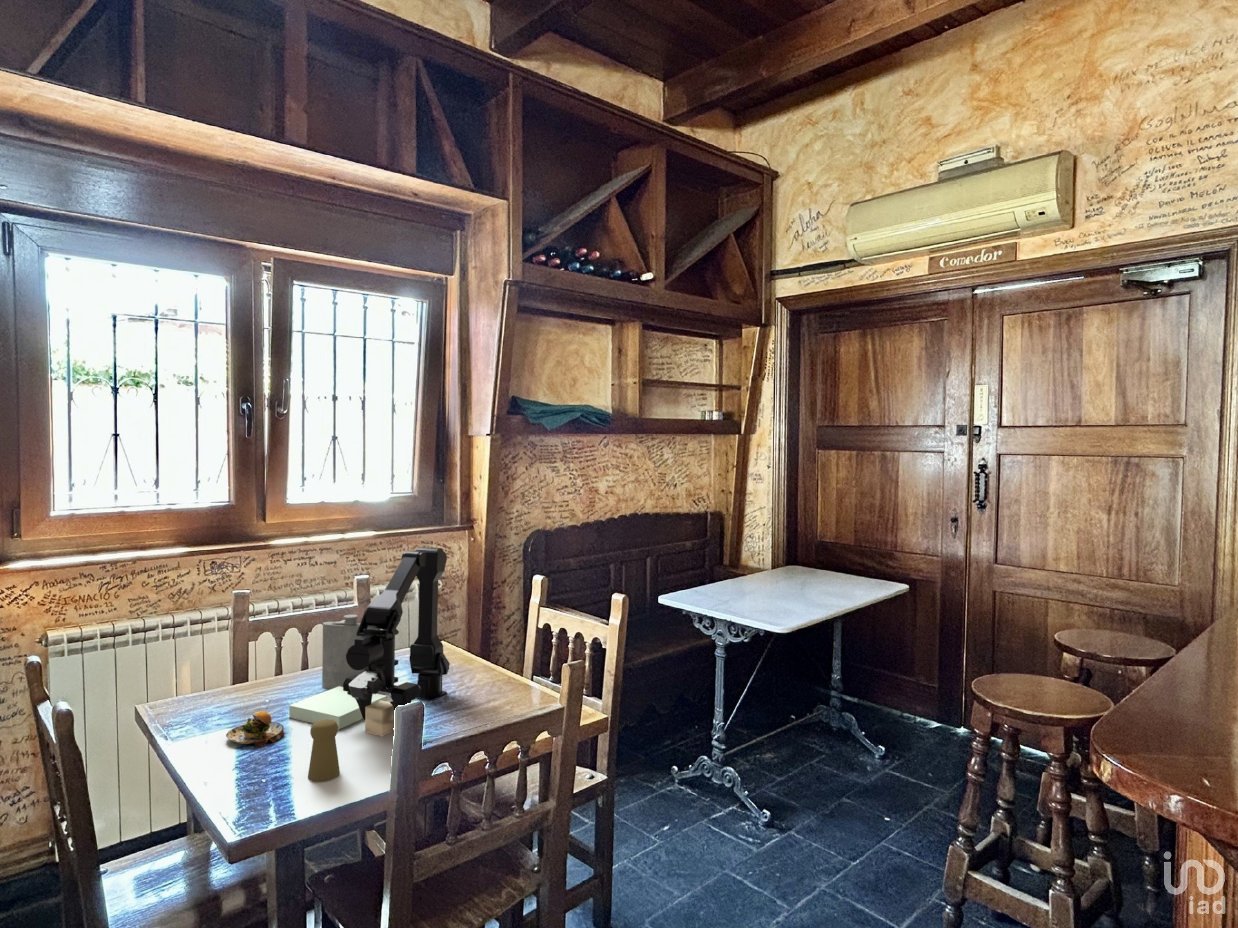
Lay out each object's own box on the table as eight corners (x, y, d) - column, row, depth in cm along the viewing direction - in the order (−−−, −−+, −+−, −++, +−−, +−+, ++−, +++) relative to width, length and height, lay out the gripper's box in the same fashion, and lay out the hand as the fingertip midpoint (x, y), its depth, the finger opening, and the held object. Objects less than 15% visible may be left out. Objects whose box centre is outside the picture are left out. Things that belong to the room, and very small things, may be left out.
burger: (228, 732, 170) (228, 700, 170) (284, 725, 175) (284, 694, 174) (223, 752, 159) (223, 718, 159) (283, 745, 164) (283, 711, 163)
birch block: (380, 725, 176) (380, 700, 176) (396, 728, 174) (397, 703, 173) (365, 732, 171) (365, 706, 171) (381, 736, 169) (382, 710, 169)
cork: (313, 768, 152) (313, 715, 151) (343, 768, 152) (344, 715, 152) (303, 782, 146) (303, 727, 145) (334, 781, 146) (335, 726, 146)
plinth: (339, 697, 194) (339, 685, 193) (386, 707, 187) (386, 695, 187) (289, 717, 179) (289, 705, 179) (339, 729, 172) (339, 716, 172)
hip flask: (381, 686, 203) (382, 614, 202) (375, 691, 199) (376, 617, 198) (325, 684, 204) (326, 612, 203) (318, 689, 200) (319, 615, 199)
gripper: (325, 660, 168) (324, 728, 169) (389, 672, 161) (388, 743, 161) (360, 648, 179) (360, 712, 179) (422, 659, 171) (421, 726, 171)
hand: (381, 723), depth 172 cm, fingers open, 9 cm apart
